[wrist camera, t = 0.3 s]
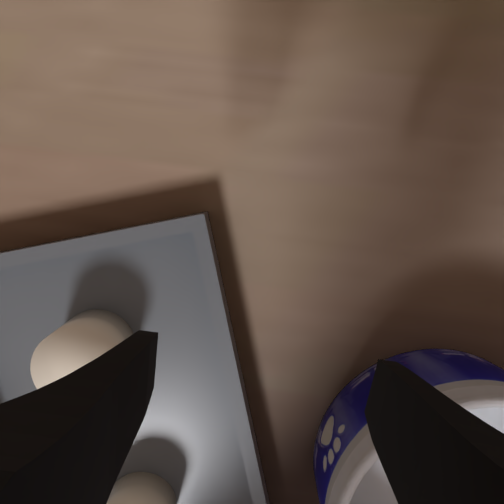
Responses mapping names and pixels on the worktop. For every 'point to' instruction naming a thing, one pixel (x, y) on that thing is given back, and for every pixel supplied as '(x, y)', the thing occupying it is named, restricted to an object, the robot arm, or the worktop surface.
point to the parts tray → (168, 348)
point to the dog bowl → (358, 436)
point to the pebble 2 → (141, 490)
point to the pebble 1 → (76, 344)
